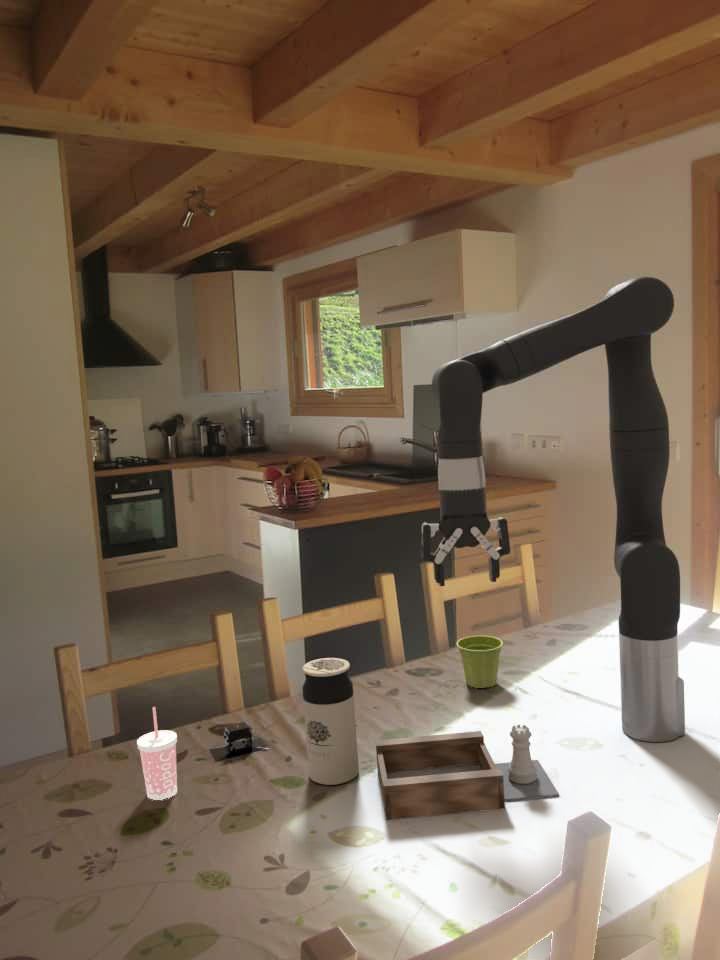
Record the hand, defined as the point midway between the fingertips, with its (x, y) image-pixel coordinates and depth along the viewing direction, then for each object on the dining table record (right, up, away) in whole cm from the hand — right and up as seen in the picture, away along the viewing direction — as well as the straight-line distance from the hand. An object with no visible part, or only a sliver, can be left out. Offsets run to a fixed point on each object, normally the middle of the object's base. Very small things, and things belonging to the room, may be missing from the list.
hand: (467, 583), depth 128 cm
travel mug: (-22, -30, -3) cm, 37 cm away
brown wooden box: (-6, -30, -10) cm, 32 cm away
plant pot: (+7, -25, +31) cm, 40 cm away
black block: (-39, -31, +9) cm, 50 cm away
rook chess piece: (+7, -29, -9) cm, 31 cm away
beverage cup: (-49, -32, -6) cm, 59 cm away
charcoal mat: (+7, -29, -9) cm, 31 cm away
